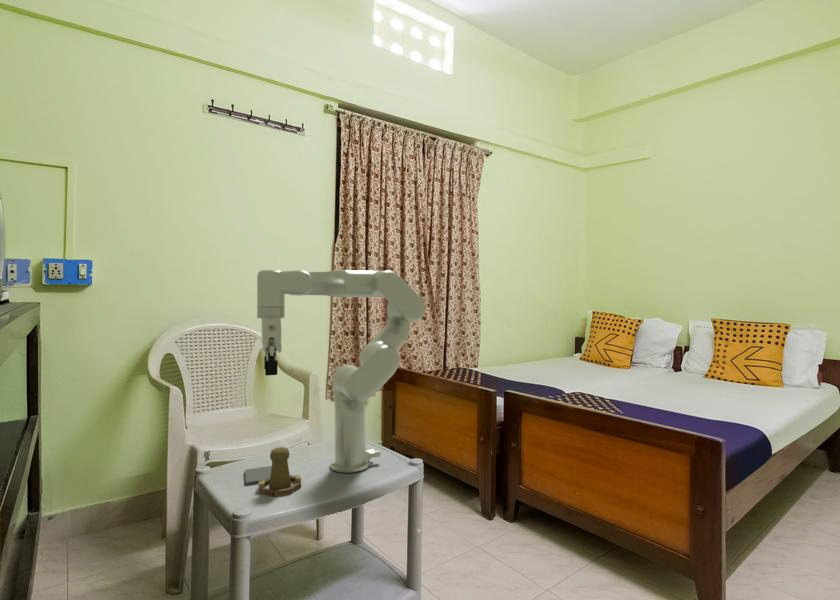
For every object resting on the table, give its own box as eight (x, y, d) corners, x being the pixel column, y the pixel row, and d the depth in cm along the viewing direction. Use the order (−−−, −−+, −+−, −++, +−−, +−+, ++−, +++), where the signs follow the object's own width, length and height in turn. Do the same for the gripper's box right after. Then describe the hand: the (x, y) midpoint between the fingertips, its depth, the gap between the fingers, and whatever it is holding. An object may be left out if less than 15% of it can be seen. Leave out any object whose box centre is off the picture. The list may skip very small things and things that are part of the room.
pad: (279, 467, 143) (279, 464, 143) (282, 479, 134) (282, 477, 134) (244, 472, 139) (244, 469, 139) (245, 485, 130) (245, 482, 130)
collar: (298, 476, 136) (298, 469, 136) (303, 491, 126) (303, 483, 126) (258, 482, 132) (258, 475, 132) (260, 499, 122) (260, 490, 122)
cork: (295, 483, 131) (294, 445, 131) (284, 493, 125) (283, 453, 125) (276, 481, 132) (275, 444, 132) (264, 490, 126) (264, 451, 126)
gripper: (286, 314, 125) (286, 376, 125) (282, 311, 141) (282, 366, 142) (257, 314, 122) (257, 378, 123) (256, 311, 139) (256, 367, 139)
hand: (270, 372), depth 132 cm, fingers open, 9 cm apart
